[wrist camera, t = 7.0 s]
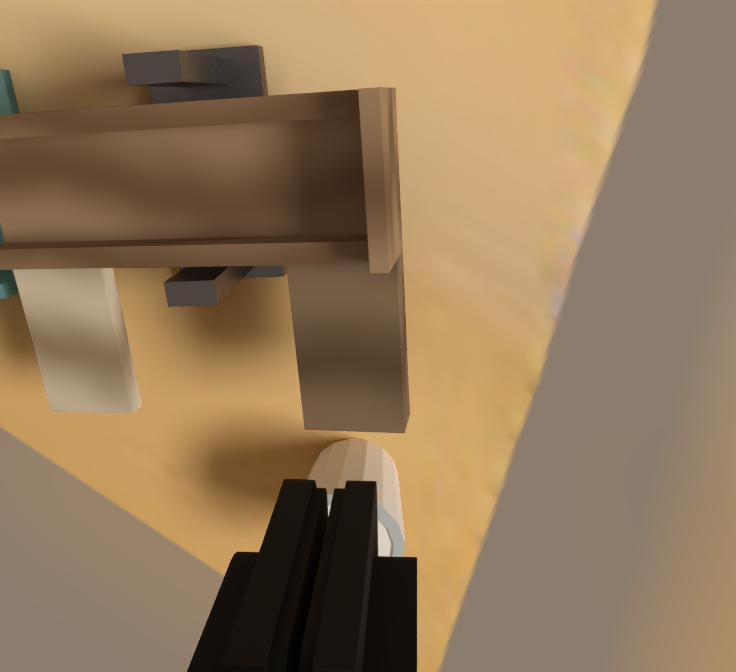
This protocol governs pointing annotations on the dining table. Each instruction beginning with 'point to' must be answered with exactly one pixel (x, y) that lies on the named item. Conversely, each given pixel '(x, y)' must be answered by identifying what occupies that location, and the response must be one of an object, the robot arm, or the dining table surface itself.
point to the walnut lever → (214, 236)
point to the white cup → (365, 465)
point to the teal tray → (3, 281)
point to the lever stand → (197, 83)
